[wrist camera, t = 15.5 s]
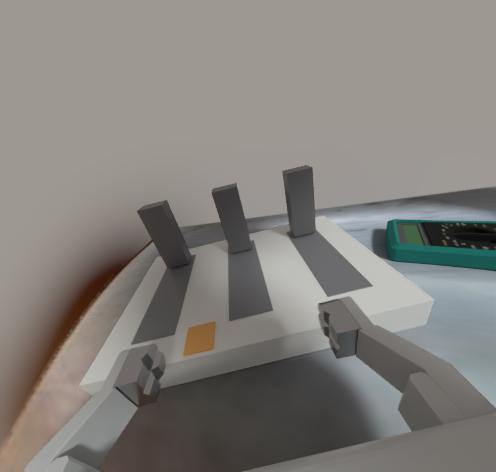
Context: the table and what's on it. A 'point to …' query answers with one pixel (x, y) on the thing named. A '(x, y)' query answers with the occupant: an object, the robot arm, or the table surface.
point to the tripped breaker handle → (232, 217)
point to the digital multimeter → (443, 243)
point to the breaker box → (255, 303)
